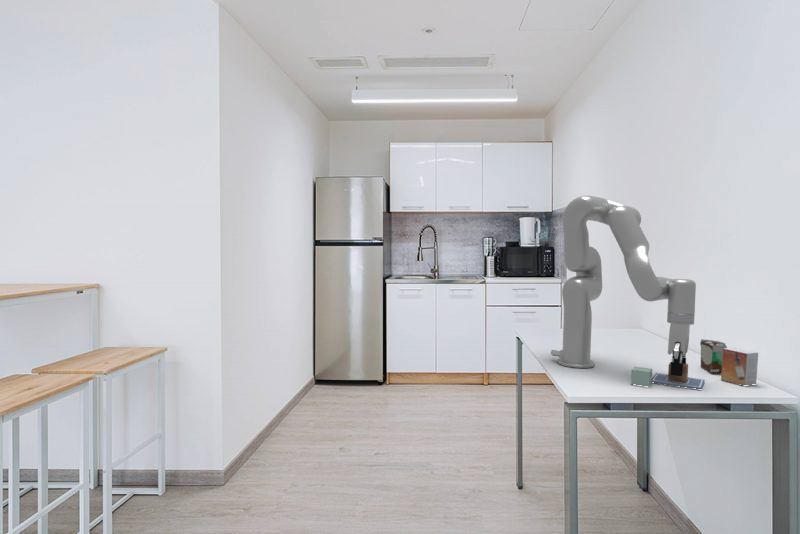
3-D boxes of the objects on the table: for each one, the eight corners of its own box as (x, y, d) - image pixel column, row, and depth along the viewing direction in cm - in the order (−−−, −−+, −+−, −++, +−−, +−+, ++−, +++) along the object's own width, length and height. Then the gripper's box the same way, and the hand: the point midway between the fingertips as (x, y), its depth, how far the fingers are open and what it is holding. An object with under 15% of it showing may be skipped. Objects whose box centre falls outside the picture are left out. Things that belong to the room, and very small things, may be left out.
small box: (720, 380, 171) (722, 348, 170) (732, 379, 173) (733, 347, 172) (745, 387, 163) (746, 353, 163) (756, 385, 165) (758, 352, 165)
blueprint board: (650, 383, 166) (650, 380, 166) (656, 375, 176) (656, 372, 176) (701, 390, 158) (701, 387, 158) (704, 382, 168) (704, 379, 168)
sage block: (631, 385, 163) (631, 369, 162) (634, 382, 167) (634, 366, 167) (648, 388, 160) (649, 372, 160) (651, 384, 164) (652, 368, 164)
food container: (732, 376, 176) (733, 346, 176) (712, 375, 177) (713, 345, 177) (717, 367, 188) (719, 340, 188) (699, 366, 189) (700, 339, 189)
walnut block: (667, 380, 166) (668, 364, 166) (669, 377, 170) (670, 361, 170) (685, 383, 163) (686, 367, 163) (687, 379, 167) (688, 364, 167)
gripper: (670, 314, 175) (668, 365, 176) (663, 320, 161) (661, 376, 162) (696, 316, 171) (694, 368, 172) (691, 323, 157) (688, 380, 157)
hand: (678, 372), depth 167 cm, fingers open, 9 cm apart
